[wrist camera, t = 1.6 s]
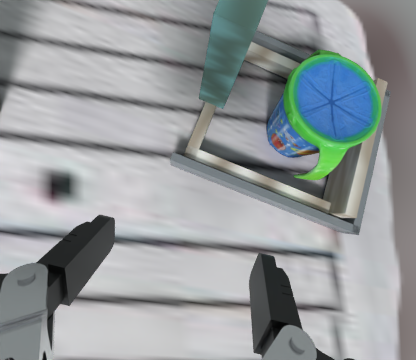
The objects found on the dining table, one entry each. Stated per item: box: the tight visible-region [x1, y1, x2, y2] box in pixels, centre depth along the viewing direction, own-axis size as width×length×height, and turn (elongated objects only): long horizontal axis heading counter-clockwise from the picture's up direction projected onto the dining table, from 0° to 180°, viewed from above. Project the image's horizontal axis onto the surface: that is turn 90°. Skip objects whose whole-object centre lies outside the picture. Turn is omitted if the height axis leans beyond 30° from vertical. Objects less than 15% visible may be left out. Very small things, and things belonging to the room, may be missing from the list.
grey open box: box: [183, 0, 387, 218], centre depth 25 cm, size 23×20×14 cm
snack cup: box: [267, 50, 381, 180], centre depth 27 cm, size 16×10×10 cm
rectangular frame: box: [170, 31, 391, 235], centre depth 31 cm, size 26×22×3 cm
